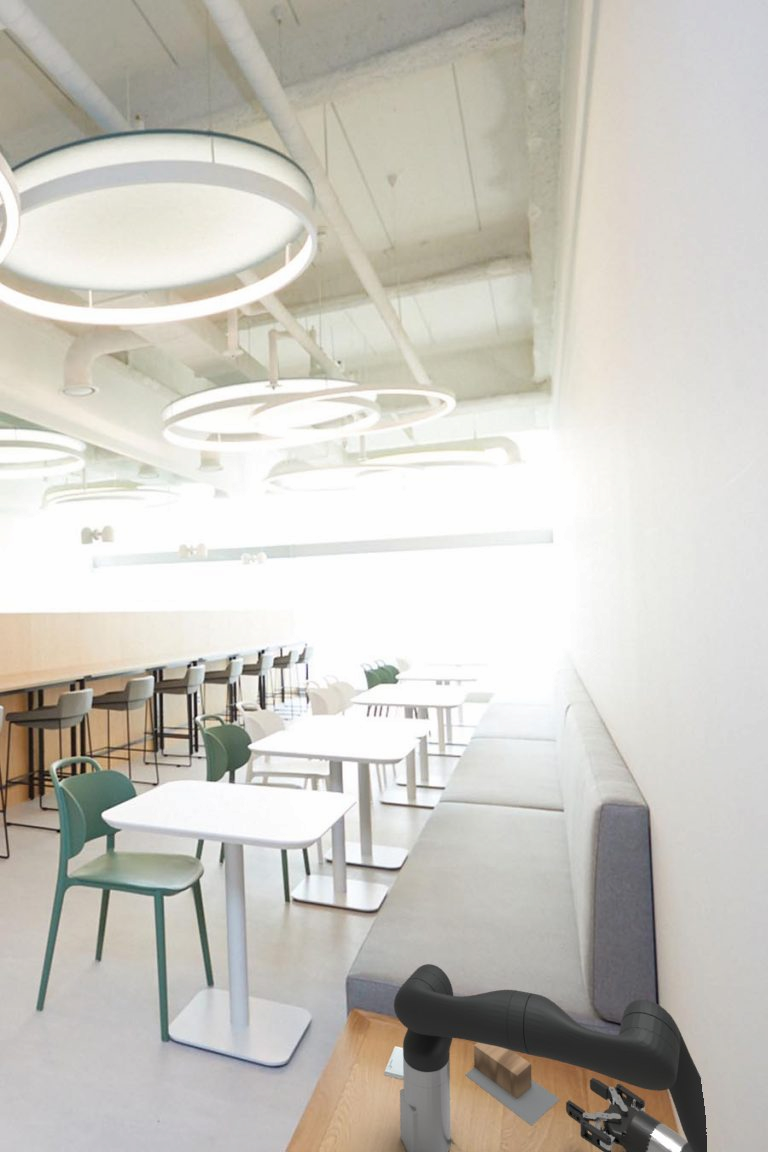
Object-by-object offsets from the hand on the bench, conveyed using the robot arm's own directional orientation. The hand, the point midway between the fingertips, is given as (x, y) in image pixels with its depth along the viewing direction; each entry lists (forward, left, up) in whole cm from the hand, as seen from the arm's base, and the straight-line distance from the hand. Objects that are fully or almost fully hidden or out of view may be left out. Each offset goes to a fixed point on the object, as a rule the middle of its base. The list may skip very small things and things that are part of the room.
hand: (579, 1094), depth 128 cm
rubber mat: (-6, +15, -9) cm, 18 cm away
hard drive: (-23, +29, -9) cm, 38 cm away
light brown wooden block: (-5, +13, -5) cm, 14 cm away
